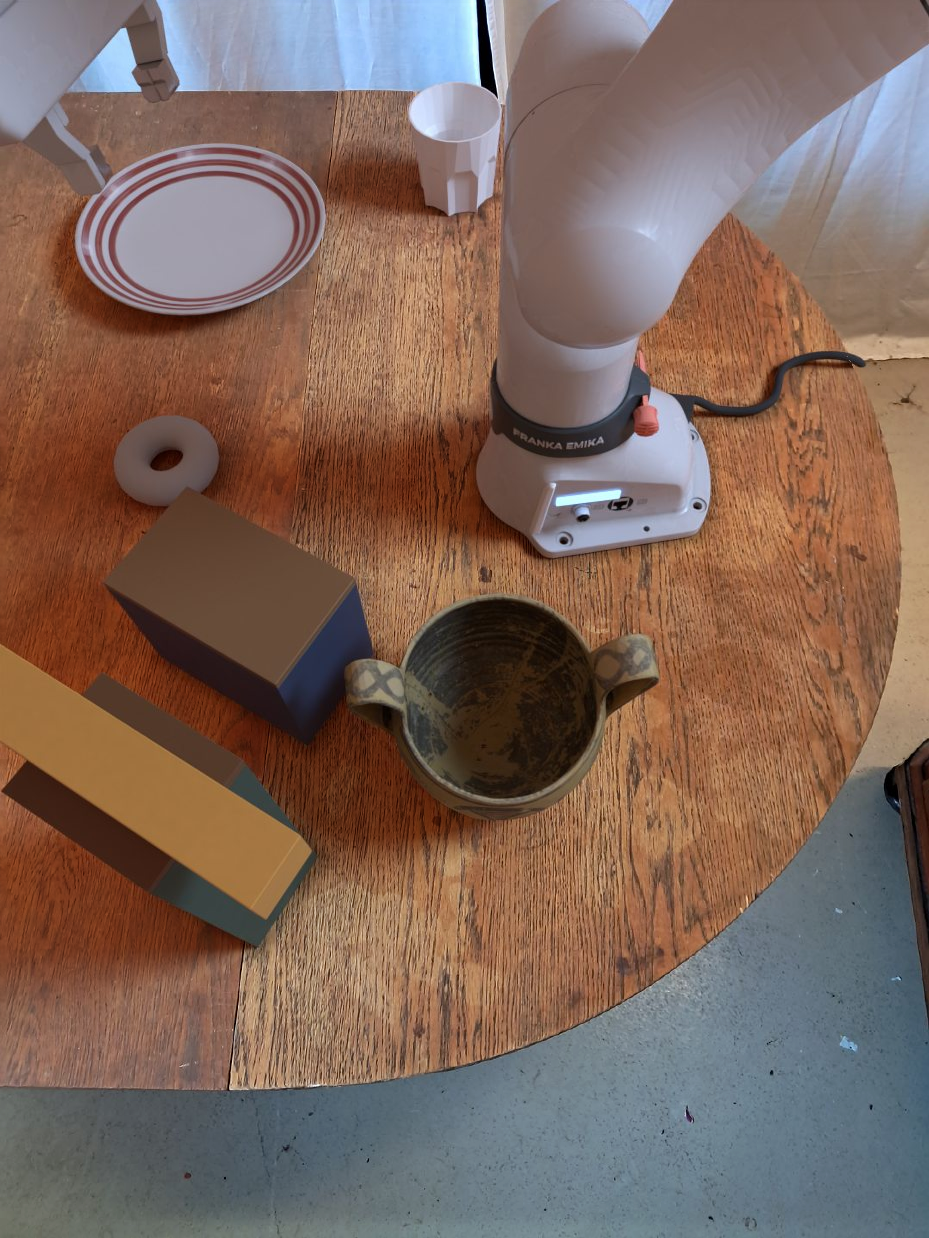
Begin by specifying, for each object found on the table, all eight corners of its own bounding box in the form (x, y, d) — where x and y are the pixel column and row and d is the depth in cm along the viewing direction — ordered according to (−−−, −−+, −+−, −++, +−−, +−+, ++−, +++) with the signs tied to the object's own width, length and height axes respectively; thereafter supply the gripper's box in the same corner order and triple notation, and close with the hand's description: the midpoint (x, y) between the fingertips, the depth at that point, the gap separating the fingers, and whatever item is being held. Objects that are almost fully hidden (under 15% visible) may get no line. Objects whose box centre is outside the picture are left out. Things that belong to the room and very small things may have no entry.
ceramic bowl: (611, 637, 80) (640, 551, 66) (645, 827, 72) (684, 775, 59) (361, 658, 79) (337, 575, 65) (368, 852, 71) (344, 804, 58)
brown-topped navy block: (160, 657, 79) (101, 582, 66) (230, 572, 83) (186, 485, 70) (308, 746, 75) (275, 685, 63) (374, 653, 79) (355, 577, 66)
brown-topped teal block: (156, 878, 71) (0, 790, 47) (219, 793, 74) (101, 671, 50) (257, 947, 68) (146, 891, 45) (318, 856, 71) (243, 759, 48)
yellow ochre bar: (-105, 671, 50) (-144, 645, 47) (-53, 616, 52) (-87, 588, 49) (266, 920, 44) (250, 910, 41) (312, 850, 46) (301, 835, 43)
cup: (407, 168, 107) (402, 88, 98) (490, 157, 107) (491, 76, 99) (421, 226, 102) (416, 148, 94) (507, 215, 103) (510, 135, 94)
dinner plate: (113, 160, 108) (103, 135, 105) (340, 164, 107) (336, 139, 104) (59, 333, 96) (46, 310, 93) (314, 339, 95) (309, 316, 92)
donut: (106, 505, 86) (204, 521, 85) (91, 484, 83) (193, 500, 82) (142, 423, 91) (236, 437, 89) (130, 400, 88) (227, 415, 86)
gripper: (-116, -101, 32) (101, 246, 43) (117, -268, 43) (243, 42, 54) (-240, -64, 34) (-3, 259, 45) (13, -232, 45) (154, 60, 56)
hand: (132, 139), depth 49 cm, fingers open, 8 cm apart
